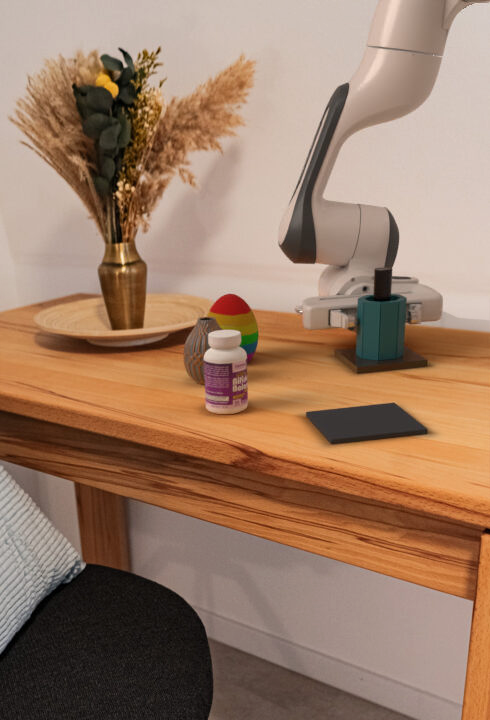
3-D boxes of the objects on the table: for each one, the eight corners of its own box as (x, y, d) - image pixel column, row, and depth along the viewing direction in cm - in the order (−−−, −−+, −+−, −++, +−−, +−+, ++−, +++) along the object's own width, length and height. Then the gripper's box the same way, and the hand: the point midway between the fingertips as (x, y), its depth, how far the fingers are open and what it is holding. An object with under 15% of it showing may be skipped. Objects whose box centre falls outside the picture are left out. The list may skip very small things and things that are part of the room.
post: (399, 349, 126) (404, 260, 120) (427, 366, 117) (433, 270, 111) (334, 356, 125) (336, 266, 119) (357, 374, 116) (360, 277, 110)
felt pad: (394, 407, 102) (394, 402, 102) (427, 434, 93) (428, 428, 93) (305, 416, 101) (305, 411, 101) (331, 444, 92) (331, 439, 92)
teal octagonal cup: (392, 347, 123) (395, 292, 120) (408, 357, 118) (412, 300, 114) (351, 351, 123) (353, 296, 119) (366, 362, 117) (368, 304, 114)
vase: (226, 388, 114) (223, 324, 110) (178, 387, 116) (174, 324, 113) (239, 374, 120) (237, 312, 116) (193, 373, 122) (190, 312, 118)
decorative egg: (193, 365, 126) (190, 297, 122) (223, 352, 132) (221, 287, 128) (240, 371, 121) (238, 301, 117) (268, 357, 127) (268, 290, 123)
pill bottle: (242, 416, 103) (240, 338, 99) (201, 414, 105) (197, 338, 101) (252, 402, 108) (250, 327, 104) (212, 401, 109) (209, 327, 105)
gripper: (292, 286, 129) (308, 303, 116) (426, 276, 128) (457, 292, 116) (292, 327, 132) (308, 348, 119) (423, 317, 131) (453, 337, 118)
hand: (383, 321), depth 117 cm, fingers open, 8 cm apart
